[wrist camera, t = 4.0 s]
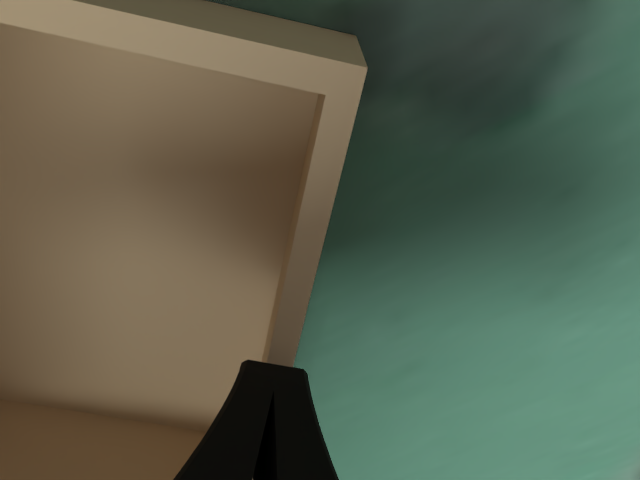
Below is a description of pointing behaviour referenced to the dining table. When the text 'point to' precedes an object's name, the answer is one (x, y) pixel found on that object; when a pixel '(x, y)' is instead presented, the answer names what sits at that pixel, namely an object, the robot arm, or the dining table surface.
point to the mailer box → (155, 219)
